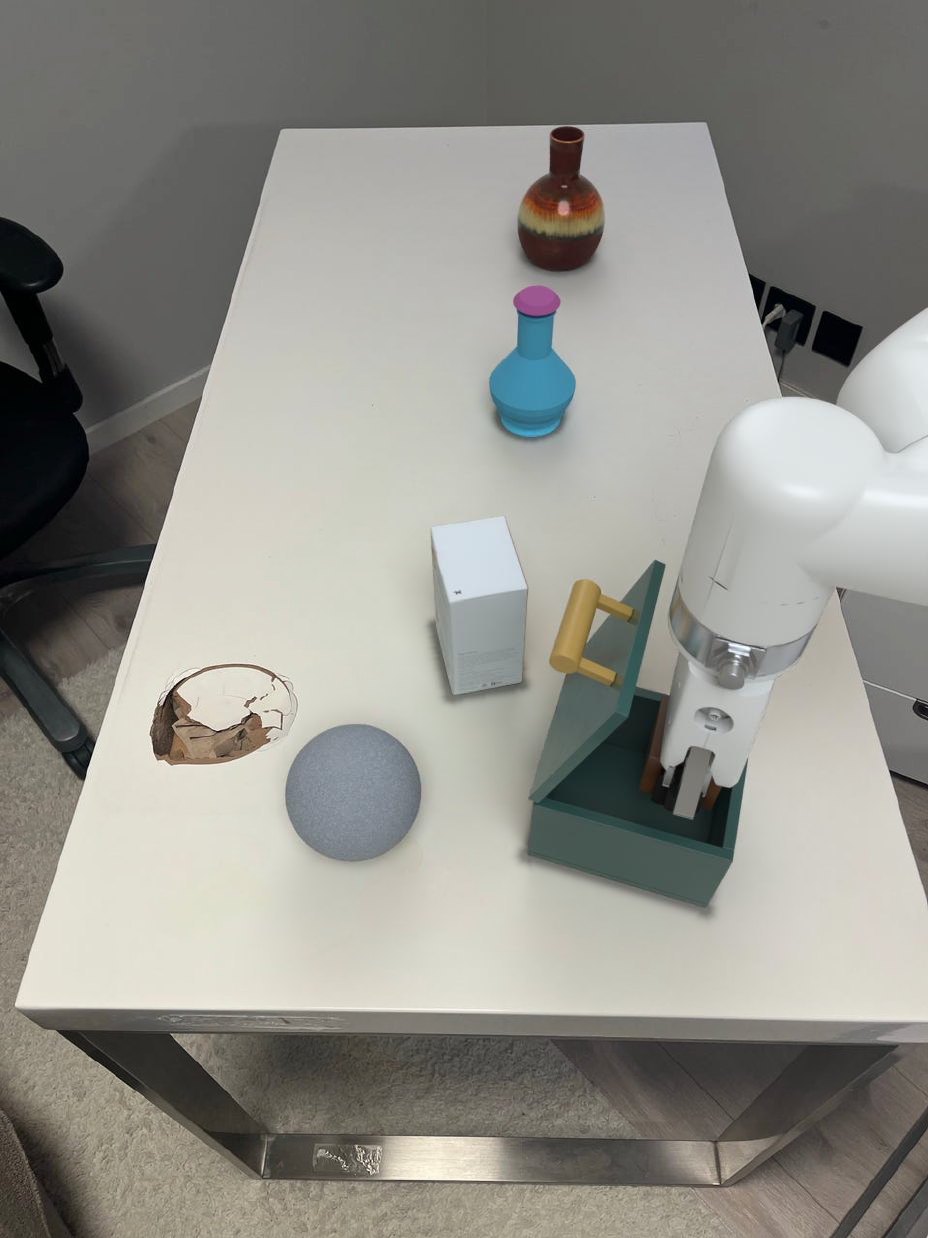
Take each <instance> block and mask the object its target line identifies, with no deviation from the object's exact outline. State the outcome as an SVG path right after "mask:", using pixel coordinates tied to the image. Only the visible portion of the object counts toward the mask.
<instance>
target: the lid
mask: <svg viewBox="0 0 928 1238" xmlns="http://www.w3.org/2000/svg"><path fill="white" fill-rule="evenodd" d="M666 567H667V564H665V563H664V562H662V561H659V560H657V559H654V560H653V561H652V562H651V563H650V565H649V566H648V567H647V568H646V570H645V571H644V572H643V573H642V575H640V577H639V578H638V579H637V581H635V583H634V584H633V586H631V588H630V589H629V590H628V592H627V593H626V594H625V595H624V597H623V598H622V599H621V600H620V601H618V600H616V599H614V598H612V597H609V596H607V595H606V594H603V593H602V589H601V587H600V585H599V584H598V583H596V582H594V581H593V580H589V579H585V578H584V579H578V580H576V581H574V583H573V585H572V587H571V590H570V594H569V596H568V600H567V602H566V607H565V609H564V612H563V615H562V618H561V622H560V624H559V628H558V631H557V634H556V637H555V640H554V644H553V646H552V650H551V652H550V656H549V659H548V663H549V665H550V667H551V668H552V669H554V670H555V671H557V672H559V673H561V674H565V676H564V679H563V683H562V685H561V689H560V692H559V696H558V699H557V702H556V704H555V705H556V706H555V709H554V712H553V715H552V718H551V721H550V725H549V728H548V732H547V735H546V738H545V741H544V745H543V747H542V751H541V754H540V758H539V762H538V764H537V768H536V771H535V774H534V777H533V781H532V784H531V787H530V791H529V794H528V801H531V802H532V803H533V802H536V803H539V802H540V801H541V800H542V799H543V798H544V797H545V796H547V795H548V794H549V793H550V792H551V791H552V790H553V789H554V788H555V787H556V786H557V785H558V784H559V783H560V782H561V781H562V780H563V779H564V778H565V777H566V776H567V775H568V774H569V773H570V772H572V771H573V770H574V769H575V768H576V767H577V766H578V765H579V764H580V763H581V762H582V761H583V760H584V759H585V758H586V757H587V756H588V755H589V754H590V753H591V752H592V751H593V750H594V749H595V748H597V747H598V746H599V745H600V744H601V743H602V742H603V741H604V740H605V739H606V738H607V737H608V736H609V735H610V734H611V733H612V732H613V731H614V730H615V729H616V728H617V727H618V726H619V725H620V724H622V723H623V722H624V721H625V720H626V719H627V718H628V716H629V712H630V708H631V704H632V700H633V696H634V692H635V688H636V687H637V683H638V679H639V675H640V671H641V667H642V663H643V659H644V656H645V651H646V647H647V643H648V638H649V635H650V630H651V627H652V622H653V620H654V619H653V618H654V615H655V611H656V607H657V602H658V599H659V595H660V590H661V586H662V582H663V578H664V574H665V570H666ZM597 609H598V610H600V611H603V612H605V613H607V614H609V615H608V616H607V617H606V619H605V620H604V621H603V622H602V623H601V625H600V626H599V627H598V629H596V631H595V632H594V633H593V634H592V636H591V637H590V638H589V635H590V632H591V628H592V626H593V623H594V618H595V616H596V612H597Z"/></svg>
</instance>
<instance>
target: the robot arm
mask: <svg viewBox="0 0 928 1238" xmlns="http://www.w3.org/2000/svg"><path fill="white" fill-rule="evenodd" d="M681 560H682V561H681V564H680V567H679V571H678V576H677V579H676V583H675V587H674V590H673V593H672V597H671V601H670V604H669V606H668V611H667V627H668V631H669V635H670V637H671V640H672V642H673V644H674V645H675V647H676V648H677V650H678V655H677V659H676V662H675V667H674V672H673V677H672V681H671V686H670V691H669V695H670V697H669V702H668V708H667V714H666V721H665V728H664V735H663V741H662V749H661V757H660V762H661V764H662V766H663V767H664V769H662V768H661V770H660V773H659V776H658V779H657V782H656V785H655V788H654V791H653V794H652V798H651V800H652V802H654V803H656V804H660V805H663V806H664V808H665V809H666V810H668V811H671V812H673V813H672V814H674V815H677V816H681V817H684V818H688V819H691V820H693V818H694V815H695V814H697V813H698V812H699V810H700V808H701V805H702V803H703V801H704V799H705V797H706V794H707V792H708V790H709V787H710V781H711V778H712V777H713V779H714V782H715V784H716V785H718V786H723V787H728V788H730V787H732V786H734V785H735V784H736V783H737V782H738V781H739V779H740V776H741V774H742V771H743V769H744V766H745V764H746V761H747V759H748V760H749V757H748V756H750V754H751V751H752V749H753V746H754V744H755V741H756V739H757V736H758V734H759V731H760V729H761V727H762V723H763V720H764V718H765V715H766V711H767V709H768V706H769V703H770V699H771V697H772V693H773V690H774V686H775V684H776V683H775V682H776V679H777V678H779V677H781V676H783V675H786V674H787V673H788V672H790V671H791V670H792V669H793V668H794V667H795V666H796V665H797V664H798V662H799V661H800V660H801V658H802V656H803V654H804V652H805V650H806V648H807V646H808V644H809V642H810V640H811V638H812V636H813V634H814V632H815V630H816V629H817V626H818V624H819V622H820V620H821V618H822V616H823V614H824V612H825V610H826V608H827V606H828V603H829V602H830V600H831V598H832V596H833V595H834V592H835V590H836V588H839V589H843V590H849V591H854V592H859V593H863V594H868V595H872V596H876V597H881V598H886V599H889V600H893V601H898V602H902V603H906V604H912V605H917V606H921V607H926V608H928V306H927V307H925V308H923V309H922V311H920V312H918V313H917V314H916V315H914V316H913V317H911V318H909V320H907V321H906V322H904V323H903V324H902V325H900V326H899V327H898V328H896V329H895V330H894V331H892V332H891V333H890V334H889V335H888V336H886V338H884V339H883V340H882V341H881V342H880V343H878V344H876V345H875V347H873V349H871V350H870V351H869V352H868V353H867V354H866V355H865V356H864V357H863V358H862V359H861V360H860V362H859V363H857V365H856V366H855V367H854V369H852V371H851V372H850V373H849V375H847V378H846V380H845V381H844V383H843V385H842V386H841V388H840V390H839V392H838V396H837V399H836V402H835V404H833V403H831V402H828V401H824V400H821V399H817V398H811V397H807V396H806V397H805V396H804V397H803V396H776V397H772V398H766V399H763V400H759V401H756V402H754V403H752V404H750V405H748V406H747V407H745V408H743V409H741V410H740V411H738V412H737V413H736V414H735V415H734V416H733V417H732V418H730V420H728V422H727V423H726V424H725V425H724V426H723V428H722V430H721V431H720V433H719V434H718V436H717V438H716V440H715V444H714V446H713V450H712V453H711V455H710V458H709V463H708V466H707V470H706V473H705V477H704V481H703V484H702V487H701V491H700V495H699V498H698V501H697V506H696V508H695V513H694V516H693V520H692V523H691V528H690V531H689V535H688V538H687V543H686V546H685V550H684V553H683V557H682V559H681ZM678 764H684V765H685V766H684V769H683V770H682V769H678V768H676V767H677V765H678Z"/></svg>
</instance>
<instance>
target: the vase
mask: <svg viewBox="0 0 928 1238" xmlns="http://www.w3.org/2000/svg"><path fill="white" fill-rule="evenodd" d="M585 136H586V135H585V132H584V131H583V130H582V129H580V128H579V127H577V126H572V125H571V126H569V125H564V126H563V125H562V126H557V127H555V128H553V129H552V130H551V131H550V133H549V169H548V173H546V174H544V175H542V176H541V177H539V178H538V179H537V180H535V181H534V182H533V183H532V184H531V185H530V186H529V187H528V189H527V190H526V191H525V193H524V195H523V197H522V198H521V201H520V204H519V207H518V212H517V220H516V222H517V223H516V225H517V234H518V235H517V236H518V239H519V242H520V245H521V249H522V250H523V252H524V254H525V256H526V257H527V258H528V260H530V261H531V263H533V264H534V265H536V266H537V267H539V268H542V269H544V270H547V271H552V272H553V271H555V272H566V271H572V270H574V269H577V268H580V267H581V266H583V265H584V264H586V263H587V262H588V261H589V260H590V259H591V258H592V257H593V255H595V253H596V252H597V250H598V248H599V245H600V244H601V241H602V237H603V234H604V230H605V222H606V211H605V206H604V201H603V198H602V197H601V194H600V192H599V190H598V189H597V188H596V186H595V185H594V184H593V183H592V182H591V181H590V180H589V179H588V178H587V177H586V176H584V175H582V174H581V165H582V164H581V163H582V156H583V150H584V143H585Z"/></svg>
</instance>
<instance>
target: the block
mask: <svg viewBox="0 0 928 1238" xmlns="http://www.w3.org/2000/svg"><path fill="white" fill-rule="evenodd" d="M667 695H668V694H667ZM667 695H662V698H661V702H660V705H659V708H658V712H657V715H656V718H655V721H654V725H653V728H652V731H651V736H650V740H649V744H648V749H647V753H646V758H645V762H644V766H643V771H642V775H641V780H640V784H639V788H638V791H641V792H645V793H648V794H653V791H654V788H655V785H656V782H657V779H658V776H659V773H660V770H661V768H662V769H664V767H663V766H662V764H661V762H660V757H661V749H662V741H663V735H664V728H665V721H666V714H667V708H668V702H669V697H670V696H667ZM684 766H685V765H684V764H678V765H677V767H676V768H678V769H682V770H683V769H684ZM721 787H722V786H718V785H716V784H715V782H714V779H713V777H712V778H711V781H710V787H709V790H708V792H707V794H706V797H705V799H704V801H703V803H702V805H701V808H702V809H706V810H709V811H710V810H711V808H712V806H713V804H714V802H715V800H716V798H717V795H718V793H719V791H720V789H721Z"/></svg>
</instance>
